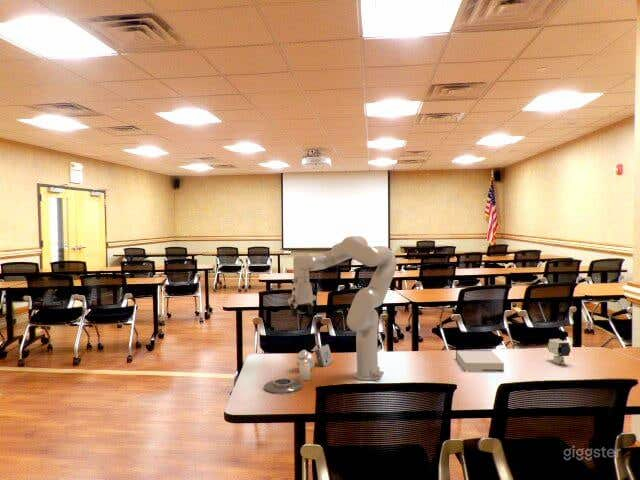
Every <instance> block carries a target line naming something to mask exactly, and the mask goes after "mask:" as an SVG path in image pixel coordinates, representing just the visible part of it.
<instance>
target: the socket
mask: <svg viewBox="0 0 640 480" xmlns="http://www.w3.org/2000/svg"><path fill="white" fill-rule="evenodd" d="M263 387H264V388H265V389H264V390H266V391H265V392H267V391H269V392H272V393H271V394H274V393H287V394H292V393H291V392H293V393H295V392H298V391H300V390H301V389H302V388H303V385H302V382H301V381H300V380H296V379H291V378H278V379H273V380H271V381H268V382H267V383H265V384H264V386H263ZM269 392H268V393H269Z"/></svg>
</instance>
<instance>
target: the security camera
mask: <svg viewBox="0 0 640 480" xmlns="http://www.w3.org/2000/svg"><path fill="white" fill-rule="evenodd" d="M547 350H548V352H549V353H551V354H554V355H553V363H554V364H557V365H565V357H570V353H571V347H570V343H569V342H567V341H565V340H562V339H560V338H559V337H558V338H549V339H548V342H547Z"/></svg>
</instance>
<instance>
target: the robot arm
mask: <svg viewBox="0 0 640 480" xmlns="http://www.w3.org/2000/svg"><path fill="white" fill-rule="evenodd" d="M349 259H352V260H355V261H356V262H358V263H360V264H362V265H364V266H366V267H371V268H372V267H377V268H376V269H375V271H374V273H373V274H372V276H371V280H370V282H369V284H368V286H366V287H362V288H361V289H360V290H358V291H357V292H356V294H355V295H354V298H353V300H352V303H351V306H350V308H349V309H348V310H349V311H348V314H347V316H346V324H347V327H348V328H349V329H350V331H352V332H356V336H355V338H356V339H355V340H356V341H355V342H356V343H355V344H356V345H355V347H356V348H355V349H356V371H355V372H354V373H353V378H354V379H356V380H360V381H377V380H379V379H380V378H382V377H383V375H384V374H385V373H384V371H382V370H381V368H380V366H379V362H378V360H379V359H378V358H379V357H378V328H379V321H380V319H379V314H378V312H377V310H376V309H375V308H378V307H380V306H381V305H382V304H383V303H384V301H385V298H386V296H387V293H388V291H389V288H390V286H391V284H392V281H393V279H394V275H395V274H396V270H397V259H396V255H395V253H394V252H393V251H392V249H390V248H389V247H386V246H383V245H381V246H370V245H368V241H367V240H366V238H364V237H363V236H361V235H353V236H347V237H345V238H344V239H343V240H342V241H341V242H339V243H336V244H334V245H332V247H331V249H330V250H328V251H326V252H322V253H320V254H319V253H318V254H312V255H305V254H302V255H294V256H293V259H292V260H293V264H292V265H293V279H292V281H291V282H292V290H291V291H292V292H291V296H290V298H288V299H287V303H288V306H289V307H290V309H291V314H292V315H291V316H292V317H295V318H296V317H298V308H297V307H298V305H304V304H306V305H307V313H308V314H309V315H313V313H314V312H313V311H314V307H313V306H314V304H315V303H316V299H317V295H315V294H313V293H314V292H313V288H312V283H311V282H310V272H314V271H319V270H325V269H327V268H329V267H333V266H335V265H338V264H340V263H342V262H345V261H347V260H349Z"/></svg>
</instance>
